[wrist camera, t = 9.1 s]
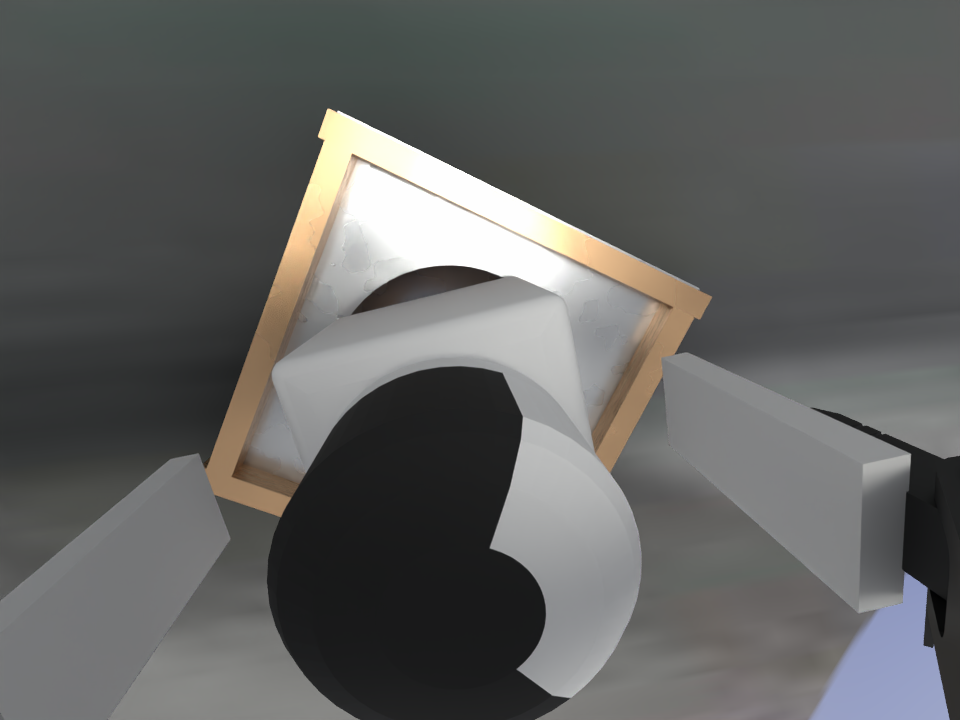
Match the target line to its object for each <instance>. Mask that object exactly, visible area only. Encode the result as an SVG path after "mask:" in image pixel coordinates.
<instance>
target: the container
mask: <svg viewBox="0 0 960 720" xmlns="http://www.w3.org/2000/svg"><path fill="white" fill-rule="evenodd" d="M272 381H273V384H274V386H275V389H276V392H277V395H278V397H279V400H280V403H281V406H282V408H283V411H284V414H285V417H286V419H287V422H288V425H289V428H290V430H291V433H292V436H293V439H294V442H295V444H296V447H297V450H298V453H299V455H300V458H301V461H302V464H303V466H304V469H305V472H306V474H305V476H304V477H303V479H302V481H301V482H300V484H299V486H298V487H297V489H296V491H295V493H294V494H293V496H292V498H291V499H290V501H289V503H288V504H287V506H286V508H285V509H284V511H283V513H282V516H281V518H280V521H279V523H278V526H277V528H276V531H275V533H274V536H273V541H272V545H271V549H270V554H269V558H268V575H267V585H268V595H269V604H270V608H271V611H272V615H273V618H274V622H275V626H276V628H277V630H278V632H279V634H280V637H281V639H282V641H283V643H284V645H285V647H286V649H287V650H288V652H289V653H290V655H291V656H292V658H293V659H294V661H295V662H296V664H297V665H298V667H299V668H300V669H301V671H302V672H303V674H304V675H305V676H306V677H307V678H308V680H309V681H310V682H311V683H312V684H313V685H314V686H315V687H316V688H317V689H318V690H319V692H320V693H322V694H323V695H324V696H325V697H327V698H328V699H329V700H330V701H331V702H333V703H334V704H335V705H336V706H338V707H339V708H341V709H343V710H344V711H346V712H348V713H349V714H351V715H352V716H354V717H356V718H358V719H360V720H535V719H537V718H539V717H541V716H543V715H545V714H546V713H548V712H550V711H552V710H554V709H555V708H557V707H558V706H560V705H561V704H563V703H564V702H566V701H567V700H569V699H570V698H571V697H573V696H574V695H575V694H576V693H577V692H578V691H580V690H581V689H582V688H583V687H584V686H585V685H587V684H588V683H589V681H590V680H591V679H592V678H593V677H594V676H595V675H596V674H597V673H598V672H599V670H600V669H601V668H602V667H603V665H604V664H605V663H606V661H607V660H608V658H609V657H610V655H611V654H612V653H613V651H614V650H615V648H616V646H617V644H618V642H619V640H620V638H621V636H622V634H623V632H624V630H625V628H626V626H627V624H628V622H629V620H630V618H631V615H632V612H633V609H634V606H635V603H636V600H637V596H638V591H639V585H640V580H641V560H642V554H641V546H640V539H639V532H638V529H637V526H636V522H635V519H634V516H633V512H632V510H631V508H630V506H629V504H628V502H627V500H626V498H625V496H624V494H623V491H622V490H621V488H620V487H619V486H618V484H617V483H616V481H615V480H614V478H613V477H612V476H611V474H610V473H609V471H608V470H607V469H606V467H605V466H604V465H603V463H602V462H601V460H600V459H599V458H598V456H597V455H596V454H595V451H594V446H593V441H592V435H591V430H590V425H589V419H588V414H587V409H586V404H585V398H584V393H583V388H582V383H581V377H580V372H579V367H578V362H577V356H576V351H575V346H574V340H573V335H572V330H571V325H570V319H569V314H568V309H567V305H566V303H565V301H564V299H563V298H562V297H560V296H559V295H557V294H555V293H553V292H551V291H549V290H546V289H544V288H542V287H539V286H537V285H535V284H533V283H530V282H528V281H526V280H523V279H521V278H519V277H517V276H509V277H505V278H501V279H497V280H493V281H489V282H485V283H480V284H476V285H472V286H468V287H464V288H460V289H456V290H452V291H448V292H444V293H440V294H436V295H432V296H428V297H423V298H419V299H415V300H411V301H407V302H403V303H399V304H395V305H391V306H387V307H383V308H379V309H375V310H370V311H366V312H362V313H358V314H354V315H350V316H346V317H342V318H339V319H337V320H335V321H334V322H333V323H331V324H330V325H329V326H327V327H326V328H324V329H323V330H322V331H320V332H319V333H317V334H316V335H315V336H313V337H312V338H310V339H309V340H308V341H306V342H305V343H304V344H302V345H301V346H299V347H298V348H297V349H295V350H294V351H292V352H291V353H290V354H288V355H287V356H285V357H284V358H283V359H281V360H280V361H279V362H277V363H276V364H275V366H274V368H273V370H272Z"/></svg>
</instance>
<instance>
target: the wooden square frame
mask: <svg viewBox="0 0 960 720" xmlns="http://www.w3.org/2000/svg"><path fill="white" fill-rule="evenodd" d="M318 137H319V138H320V139H321V140H322V141H323V142H324V144H323V146H322V149H321V152H320V155H319V157H318V160H317V163H316V166H315V169H314V171H313V174H312V177H311V180H310V182H309V185H308V188H307V191H306V194H305V196H304V199H303V202H302V205H301V208H300V210H299V213H298V216H297V219H296V221H295V224H294V227H293V230H292V233H291V235H290V238H289V241H288V244H287V246H286V249H285V252H284V255H283V258H282V260H281V263H280V266H279V269H278V272H277V274H276V277H275V280H274V283H273V285H272V288H271V291H270V294H269V297H268V299H267V302H266V305H265V308H264V310H263V313H262V316H261V319H260V322H259V324H258V327H257V330H256V333H255V336H254V338H253V341H252V344H251V347H250V349H249V352H248V355H247V358H246V361H245V363H244V366H243V369H242V372H241V375H240V377H239V380H238V383H237V386H236V388H235V391H234V394H233V397H232V400H231V402H230V405H229V408H228V411H227V413H226V416H225V419H224V422H223V425H222V427H221V430H220V433H219V436H218V439H217V441H216V444H215V447H214V450H213V452H212V455H211V457H210V458H209V459H208V460H207V461H206V462H205V463H204V464H203V466H204V469H205V472H206V474H207V477H208V480H209V482H210V485H211V488H212V490H213V493H214V495H217V496H220V497H223V498H226V499H229V500H232V501H235V502H238V503H241V504H244V505H247V506H249V507H252V508H255V509H258V510H261V511H264V512H267V513H270V514H273V515H276V516H279V517H281V516H282V513H283V511H284V509H285V508H286V506H287V504H288V503H289V501H290V499H291V498H292V496H293V494H294V493H295V491H296V489H297V487H298V486H299V484H300V482H301V481H302V479H303V477H304V476H305V474H306V472H305V469H304V466H303V464H302V461H301V458H300V455H299V453H298V450H297V447H296V444H295V442H294V439H293V436H292V433H291V430H290V428H289V425H288V422H287V419H286V417H285V414H284V411H283V408H282V406H281V403H280V400H279V397H278V395H277V392H276V389H275V386H274V384H273V381H272V370H273V368H274V366H275V364H276V363H277V362H279V361H280V360H281V359H283V358H284V357H285V356H287V355H288V354H290V353H291V352H292V351H294V350H295V349H297V348H298V347H299V346H301V345H302V344H304V343H305V342H306V341H308V340H309V339H310V338H312V337H313V336H315V335H316V334H317V333H319V332H320V331H322V330H323V329H324V328H326V327H327V326H329V325H330V324H331V323H333V322H334V321H335V320H337V319H339V318H342V317H346V316H350V315H354V314H358V313H362V312H366V311H370V310H375V309H379V308H383V307H387V306H391V305H395V304H399V303H403V302H407V301H411V300H415V299H419V298H423V297H428V296H432V295H436V294H440V293H444V292H448V291H452V290H456V289H460V288H464V287H468V286H472V285H476V284H480V283H485V282H489V281H493V280H497V279H501V278H505V277H509V276H517V277H519V278H521V279H523V280H526V281H528V282H530V283H533V284H535V285H537V286H539V287H542V288H544V289H546V290H549V291H551V292H553V293H555V294H557V295H559V296H560V297H562V298H563V299H564V301H565V303H566V305H567V309H568V314H569V319H570V325H571V330H572V335H573V340H574V346H575V351H576V356H577V362H578V367H579V372H580V377H581V383H582V388H583V393H584V398H585V404H586V409H587V414H588V419H589V425H590V430H591V435H592V441H593V446H594V451H595V454H596V455H597V456H598V458H599V459H600V460H601V462H602V463H603V465H604V466H605V467H606V469H607V470H608V471H609V473H610V472H611V470H612V468H613V466H614V464H615V462H616V461H617V459H618V457H619V455H620V453H621V451H622V450H623V448H624V446H625V444H626V442H627V440H628V439H629V437H630V435H631V433H632V431H633V429H634V428H635V426H636V424H637V422H638V420H639V418H640V416H641V415H642V413H643V411H644V409H645V407H646V405H647V404H648V402H649V400H650V398H651V396H652V394H653V393H654V391H655V389H656V387H657V385H658V383H659V382H660V380H661V378H662V376H663V372H662V361H661V358H662V357H667V356H672V355H674V354H675V352H676V350H677V349H678V347H679V345H680V343H681V341H682V339H683V338H684V336H685V334H686V332H687V330H688V328H689V326H690V325H691V323H692V321H693V319H694V318H696V319H699V320H700V318H701V316H702V315H703V313H704V311H705V309H706V307H707V305H708V304H709V302H710V300H711V298H712V297H711V296H709V295H707V294H705V293H703V292H701V291H699V289H700V288H698V287H696V286H694V285H691V284H689V283H687V282H685V281H683V280H681V279H679V278H677V277H675V276H673V275H671V274H669V273H667V272H665V271H663V270H661V269H659V268H657V267H655V266H653V265H651V264H649V263H647V262H645V261H643V260H641V259H639V258H637V257H635V256H633V255H631V254H628V253H626V252H624V251H622V250H620V249H618V248H616V247H614V246H612V245H610V244H608V243H606V242H604V241H602V240H600V239H598V238H596V237H594V236H592V235H590V234H588V233H586V232H584V231H582V230H580V229H578V228H576V227H574V226H572V225H570V224H568V223H565V222H563V221H561V220H559V219H557V218H555V217H553V216H551V215H549V214H547V213H545V212H543V211H541V210H539V209H537V208H535V207H533V206H531V205H529V204H527V203H525V202H523V201H521V200H519V199H517V198H515V197H513V196H511V195H509V194H507V193H505V192H503V191H500V190H498V189H496V188H494V187H492V186H490V185H488V184H486V183H484V182H482V181H480V180H478V179H476V178H474V177H472V176H470V175H468V174H466V173H464V172H462V171H460V170H458V169H456V168H454V167H452V166H450V165H448V164H446V163H444V162H442V161H440V160H437V159H435V158H433V157H431V156H429V155H427V154H425V153H423V152H421V151H419V150H417V149H415V148H413V147H411V146H409V145H407V144H405V143H403V142H401V141H399V140H397V139H395V138H393V137H391V136H389V135H387V134H385V133H383V132H381V131H379V130H377V129H374V128H372V127H370V126H368V125H366V124H364V123H362V122H360V121H358V120H356V119H354V118H352V117H350V116H348V115H346V114H344V113H342V112H340V111H338V112H335V111H332V110H330V109H328V110H327V112H326V115H325V118H324V121H323V124H322V126H321V129H320V132H319V135H318Z"/></svg>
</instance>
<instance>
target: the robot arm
mask: <svg viewBox="0 0 960 720" xmlns="http://www.w3.org/2000/svg"><path fill="white" fill-rule="evenodd" d="M661 361H662V372H663V383H664V394H665V406H666V417H667V428H668V439H669V446H671V447H672V448H673V449H674V450H675V451H676V452H677V453H678V454H680V455H681V456H682V457H683V458H684V459H685V460H686V461H687V462H689V463H690V464H691V465H692V466H693V467H694V468H695V469H697V470H698V471H699V472H700V473H701V474H702V475H703V476H704V477H706V478H707V479H708V480H709V481H710V482H711V483H712V484H713V485H715V486H716V487H717V488H718V489H719V490H720V491H721V492H722V493H724V494H725V495H726V496H727V497H728V498H729V499H730V500H731V501H733V502H734V503H735V504H736V505H737V506H738V507H739V508H740V509H742V510H743V511H744V512H745V513H746V514H747V515H748V516H750V517H751V518H752V519H753V520H754V521H755V522H756V523H757V524H759V525H760V526H761V527H762V528H763V529H764V530H765V531H766V532H768V533H769V534H770V535H771V536H772V537H773V538H774V539H775V540H777V541H778V542H779V543H780V544H781V545H782V546H783V547H784V548H786V549H787V550H788V551H789V552H790V553H791V554H792V555H793V556H795V557H796V558H797V559H798V560H799V561H800V562H801V563H803V564H804V565H805V566H806V567H807V568H808V569H809V570H810V571H812V572H813V573H814V574H815V575H816V576H817V577H818V578H819V579H821V580H822V581H823V582H824V583H825V584H826V585H827V586H828V587H830V588H831V589H832V590H833V591H834V592H835V593H836V594H837V595H839V596H840V597H841V598H842V599H843V600H844V601H845V602H847V603H848V604H849V605H850V606H851V607H852V608H853V609H854V610H856V611H857V612H858V613H862V612H866V611H871V610H875V609H879V608H884V607H888V606H892V605H897V604H901V603H903V585H904V571H905V572H906V573H908V574H909V575H911V576H912V577H914V578H915V579H916V580H918V581H920V582H921V583H922V584H923V585H925V586H926V587H928V592H927V604H926V618H925V633H924V646H928V647H931V648H933V646H935V651H936V656H937V660H938V665H939V670H940V675H941V680H942V684H943V690H944V694H945V699H946V704H947V709H948V713H949V718H950V720H960V456H956V457H950V458H947V459H945V460H944V459H942V458H940V457H938V456H935V455H933V454H931V453H928V452H926V451H924V450H921V449H919V448H917V447H915V446H912V445H910V444H908V443H905V442H903V441H901V440H898V439H896V438H894V437H892V436H889V435H887V434H883V435H882V434H881V432H880V431H878V430H875V429H873V428H871V427H869V426H863V425H862V423H859V422H857V421H855V420H852V419H850V418H848V417H846V416H843V415H841V414H838V413H833V412H829V411H825V410H820V409H816V408H809V407H807V406H804V405H802V404H800V403H798V402H796V401H793V400H791V399H789V398H787V397H785V396H782V395H780V394H778V393H776V392H774V391H771V390H769V389H767V388H765V387H763V386H760V385H758V384H756V383H754V382H752V381H749V380H747V379H745V378H743V377H741V376H738V375H736V374H734V373H732V372H729V371H727V370H725V369H723V368H721V367H718V366H716V365H714V364H712V363H710V362H707V361H705V360H703V359H701V358H699V357H696V356H694V355H692V354H690V353H688V352H686V353H681V354H676V355H672V356H667V357H662V358H661ZM229 541H230V536H229V533H228V530H227V528H226V525H225V522H224V520H223V517H222V514H221V512H220V509H219V506H218V504H217V501H216V498H215V496H214V493H213V490H212V488H211V485H210V482H209V480H208V477H207V474H206V472H205V469H204V466H203V464H202V461H201V458H200V456H199V453H197V454H193V455H188V456H183V457H178V458H173V459H170V460H169V461H168V462H166V463H165V464H164V465H163V466H162V467H160V468H159V469H158V470H157V471H156V472H154V473H153V474H152V475H151V476H150V477H148V478H147V479H146V480H145V481H144V482H142V483H141V484H140V485H139V486H138V487H136V488H135V489H134V490H133V491H132V492H130V493H129V494H128V495H127V496H126V497H124V498H123V499H122V500H121V501H120V502H118V503H117V504H116V505H115V506H114V507H112V508H111V509H110V510H109V511H108V512H106V513H105V514H104V515H103V516H102V517H100V518H99V519H98V520H97V521H95V522H94V523H93V524H92V525H91V526H89V527H88V528H87V529H86V530H85V531H83V532H82V533H81V534H80V535H79V536H77V537H76V538H75V539H74V540H73V541H71V542H70V543H69V544H68V545H67V546H65V547H64V548H63V549H62V550H61V551H59V552H58V553H57V554H56V555H55V556H53V557H52V558H51V559H50V560H49V561H47V562H46V563H45V564H44V565H43V566H41V567H40V568H39V569H38V570H37V571H35V572H34V573H33V574H32V575H31V576H29V577H28V578H27V579H26V580H25V581H23V582H22V583H21V584H20V585H19V586H17V587H16V588H15V589H14V590H13V591H11V592H10V593H9V594H8V595H7V596H5V597H4V598H3V599H2V600H1V601H0V720H108V718H109V717H110V715H111V714H112V712H113V711H114V710H115V708H116V707H117V705H118V704H119V702H120V701H121V699H122V698H123V696H124V695H125V693H126V692H127V690H128V689H129V688H130V686H131V685H132V683H133V682H134V680H135V679H136V677H137V676H138V674H139V673H140V671H141V670H142V668H143V667H144V666H145V664H146V663H147V661H148V660H149V658H150V657H151V655H152V654H153V652H154V651H155V649H156V648H157V646H158V645H159V644H160V642H161V641H162V639H163V638H164V636H165V635H166V633H167V632H168V630H169V629H170V627H171V626H172V624H173V623H174V622H175V620H176V619H177V617H178V616H179V614H180V613H181V611H182V610H183V608H184V607H185V605H186V604H187V602H188V601H189V600H190V598H191V597H192V595H193V594H194V592H195V591H196V589H197V588H198V586H199V585H200V583H201V582H202V580H203V579H204V578H205V576H206V575H207V573H208V572H209V570H210V569H211V567H212V566H213V564H214V563H215V561H216V560H217V558H218V557H219V556H220V554H221V553H222V551H223V550H224V548H225V547H226V545H227V544H228V542H229Z"/></svg>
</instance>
